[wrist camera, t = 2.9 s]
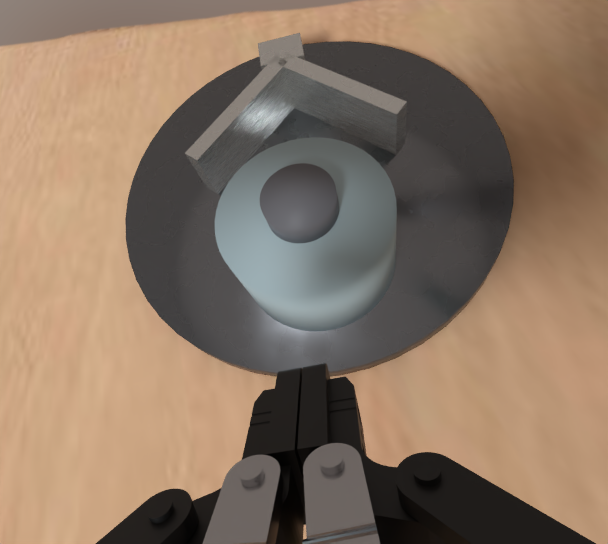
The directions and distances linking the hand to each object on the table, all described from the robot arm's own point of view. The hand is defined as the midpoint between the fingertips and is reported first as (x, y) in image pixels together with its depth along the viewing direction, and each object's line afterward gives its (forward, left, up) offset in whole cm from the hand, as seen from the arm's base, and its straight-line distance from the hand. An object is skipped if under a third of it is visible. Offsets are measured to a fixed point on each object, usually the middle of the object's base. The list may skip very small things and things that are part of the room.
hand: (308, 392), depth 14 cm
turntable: (-14, -10, -14) cm, 22 cm away
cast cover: (-9, -6, -13) cm, 17 cm away
